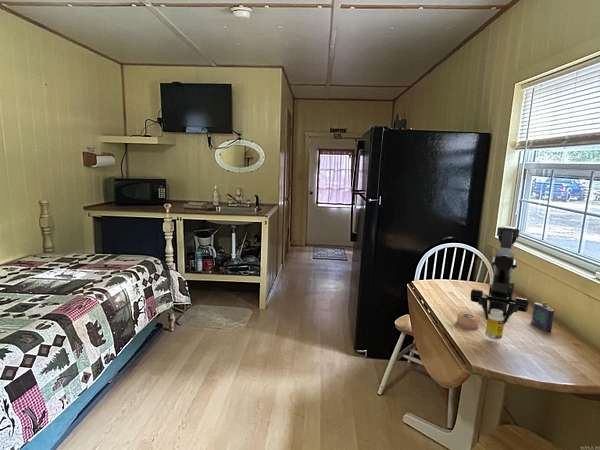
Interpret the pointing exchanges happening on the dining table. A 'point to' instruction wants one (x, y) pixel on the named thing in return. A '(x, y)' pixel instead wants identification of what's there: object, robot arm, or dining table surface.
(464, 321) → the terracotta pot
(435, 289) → the dining table surface
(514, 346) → the dining table surface
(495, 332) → the supplement bottle
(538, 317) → the flask
